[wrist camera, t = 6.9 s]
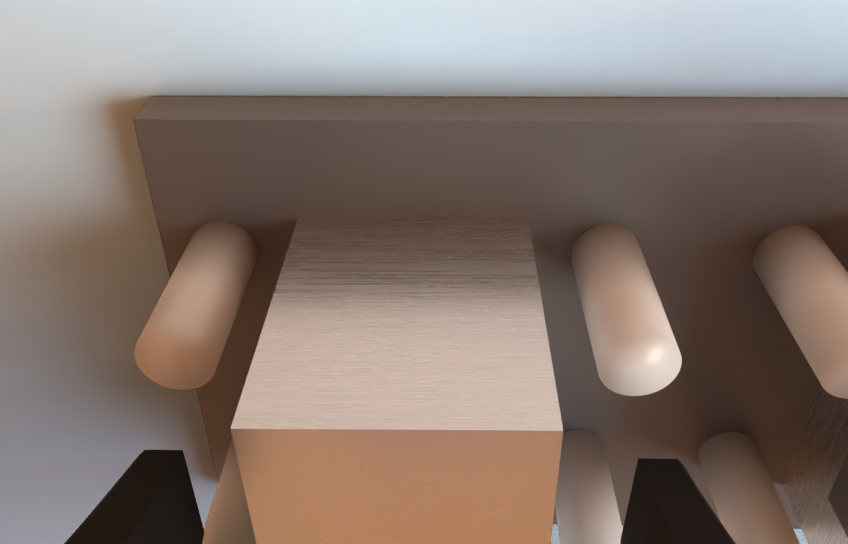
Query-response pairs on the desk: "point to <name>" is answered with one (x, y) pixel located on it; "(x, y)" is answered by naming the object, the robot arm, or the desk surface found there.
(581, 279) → the grey peg board
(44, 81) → the desk surface
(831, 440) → the tan rectangular block
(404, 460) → the light wooden block
